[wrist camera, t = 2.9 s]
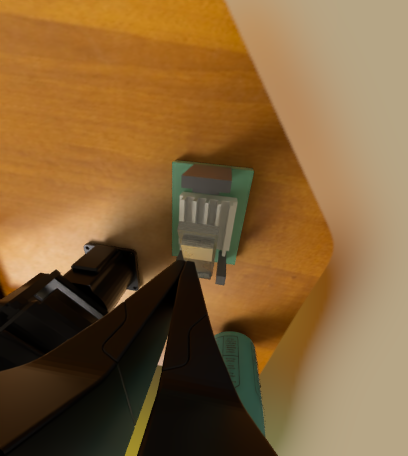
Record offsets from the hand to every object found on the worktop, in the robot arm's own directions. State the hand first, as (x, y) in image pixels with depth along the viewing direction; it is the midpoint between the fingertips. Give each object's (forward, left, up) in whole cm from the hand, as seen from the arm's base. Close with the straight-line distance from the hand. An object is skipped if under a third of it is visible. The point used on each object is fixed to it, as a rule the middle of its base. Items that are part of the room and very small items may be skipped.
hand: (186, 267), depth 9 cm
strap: (-2, 0, -5) cm, 5 cm away
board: (-2, 0, -10) cm, 11 cm away
